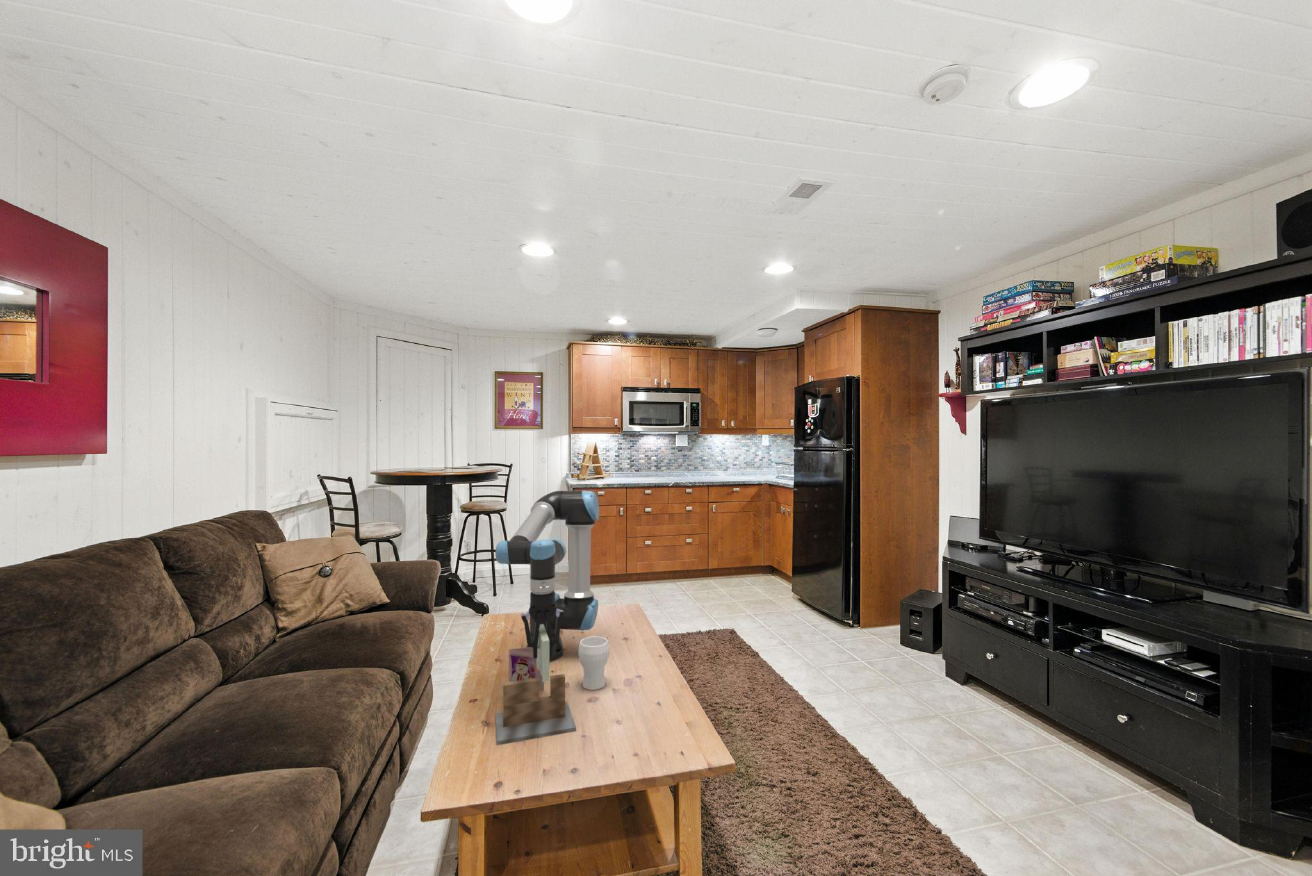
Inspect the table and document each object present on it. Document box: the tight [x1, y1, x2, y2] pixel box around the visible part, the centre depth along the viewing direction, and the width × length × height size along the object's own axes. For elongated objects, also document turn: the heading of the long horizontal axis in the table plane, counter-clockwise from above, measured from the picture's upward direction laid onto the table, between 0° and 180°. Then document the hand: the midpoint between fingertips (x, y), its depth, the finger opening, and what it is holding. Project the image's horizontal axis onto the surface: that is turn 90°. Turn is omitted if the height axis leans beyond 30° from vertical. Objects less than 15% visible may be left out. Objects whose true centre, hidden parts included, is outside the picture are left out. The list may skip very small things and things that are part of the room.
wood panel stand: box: [494, 673, 577, 745], centre depth 157 cm, size 22×16×13 cm
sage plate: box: [538, 624, 550, 683], centre depth 163 cm, size 15×2×12 cm, turn 19°
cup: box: [577, 635, 610, 691], centre depth 182 cm, size 11×11×15 cm
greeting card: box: [508, 647, 545, 692], centre depth 176 cm, size 11×7×15 cm, turn 70°
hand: (542, 667), depth 163 cm, fingers closed on sage plate, 2 cm apart
